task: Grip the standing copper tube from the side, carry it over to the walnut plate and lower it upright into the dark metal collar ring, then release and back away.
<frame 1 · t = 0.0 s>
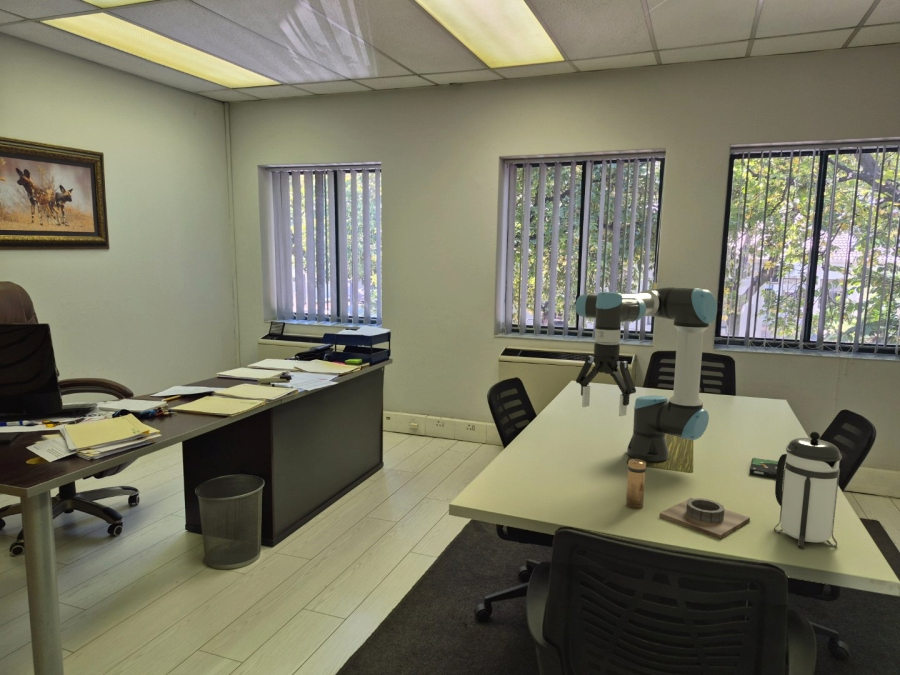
hand: (603, 410, 185), 28 cm above the table, tool pointing down, fingers open, 13 cm apart
copper tube: (634, 505, 183), on the table
collar plate: (704, 519, 174), on the table
coffee press: (799, 537, 164), on the table
disk drive: (766, 472, 216), on the table
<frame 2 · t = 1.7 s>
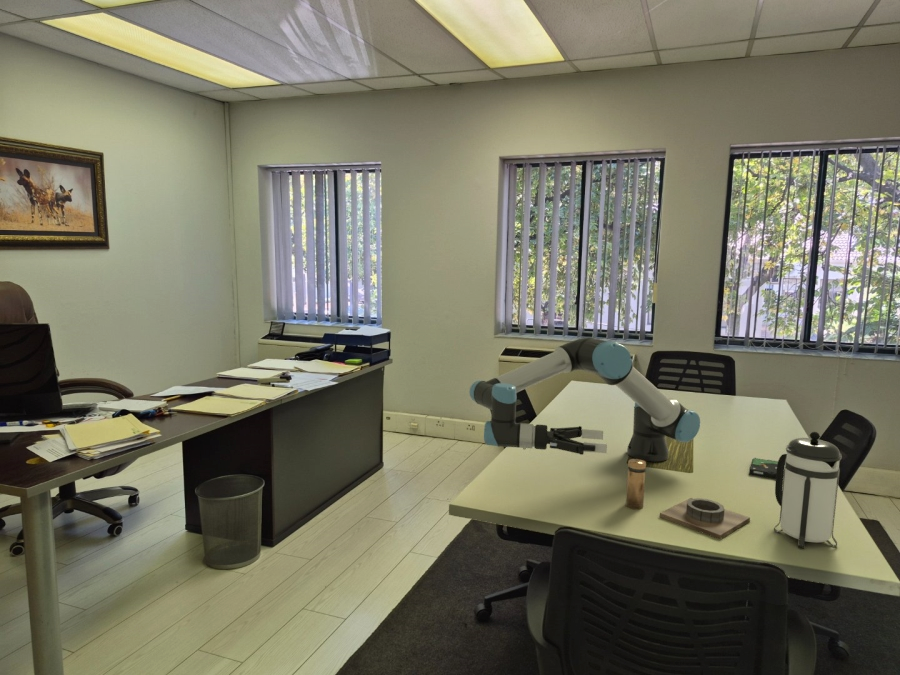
hand: (604, 441, 182), 20 cm above the table, tool horizontal, fingers open, 13 cm apart
nothing on the table moved.
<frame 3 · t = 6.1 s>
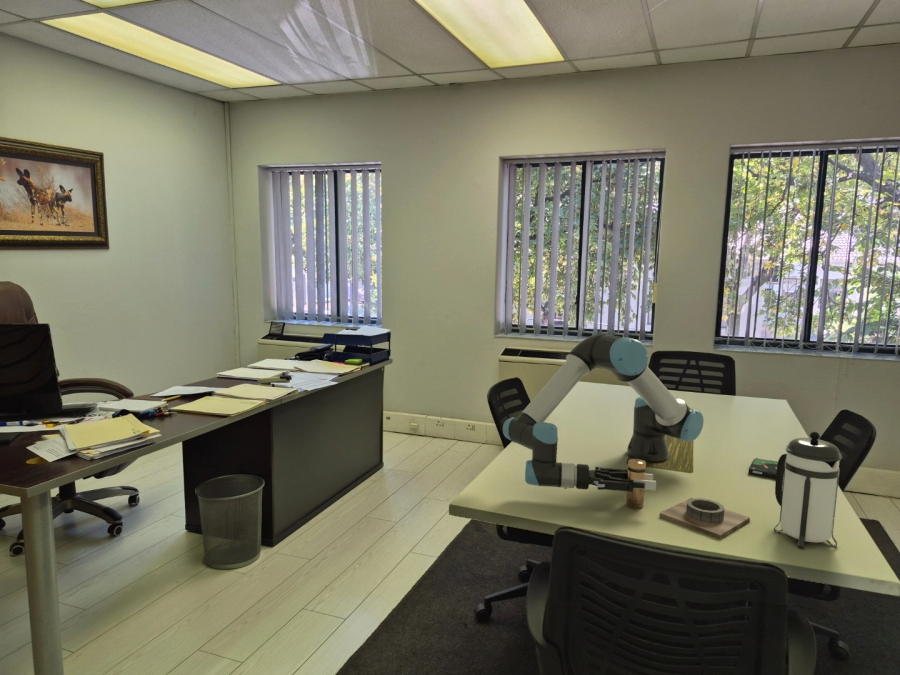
hand: (654, 482, 181), 8 cm above the table, tool horizontal, fingers closed on copper tube, 5 cm apart
copper tube: (634, 505, 183), on the table, touching gripper
everything else where it was.
when the fingers open (11 cm above the table, at t = 12.0 s): copper tube drops 1 cm, resting on collar plate.
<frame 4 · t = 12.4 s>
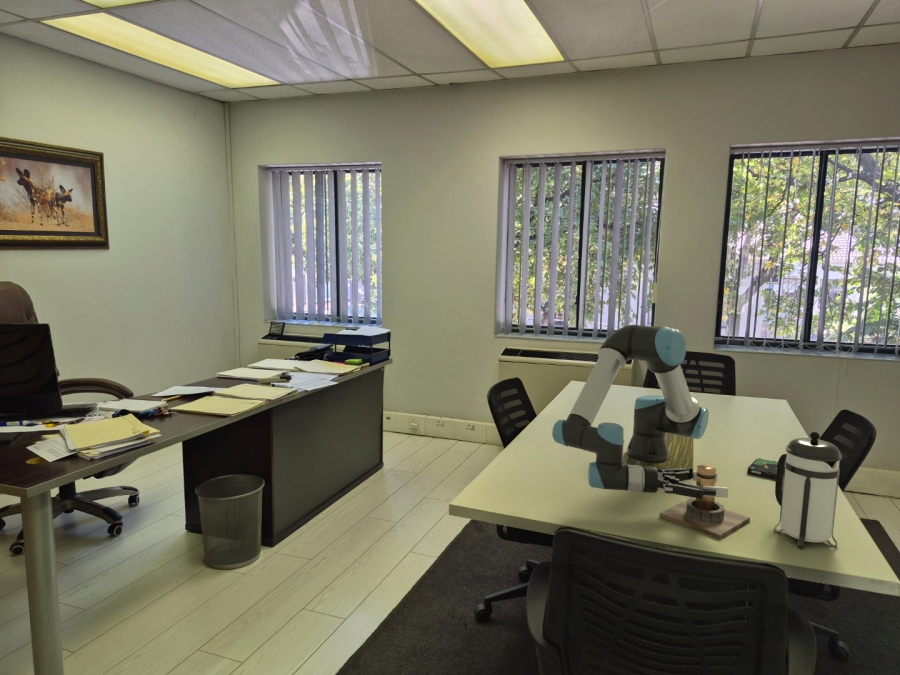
hand: (721, 484, 172), 11 cm above the table, tool horizontal, fingers open, 11 cm apart
copper tube: (704, 514, 174), point 1 cm above the table, touching collar plate
everything else where it was.
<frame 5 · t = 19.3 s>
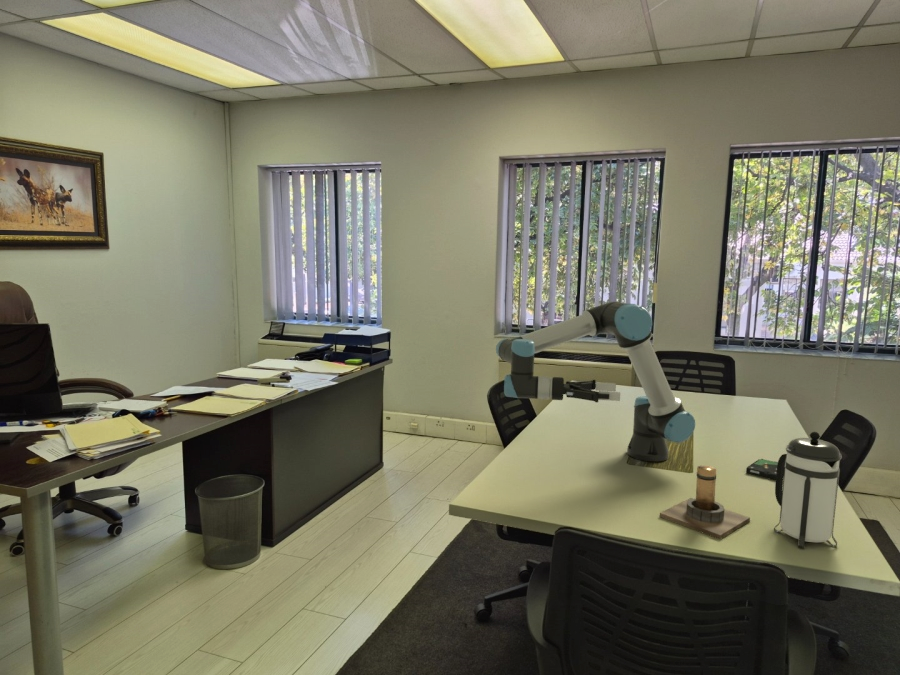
hand: (617, 391, 194), 32 cm above the table, tool horizontal, fingers open, 13 cm apart
at the end: copper tube 0.1 cm off-centre on the collar plate, point 1.3 cm above the collar plate's base; copper tube tilted 2°; the gripper is holding nothing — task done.
